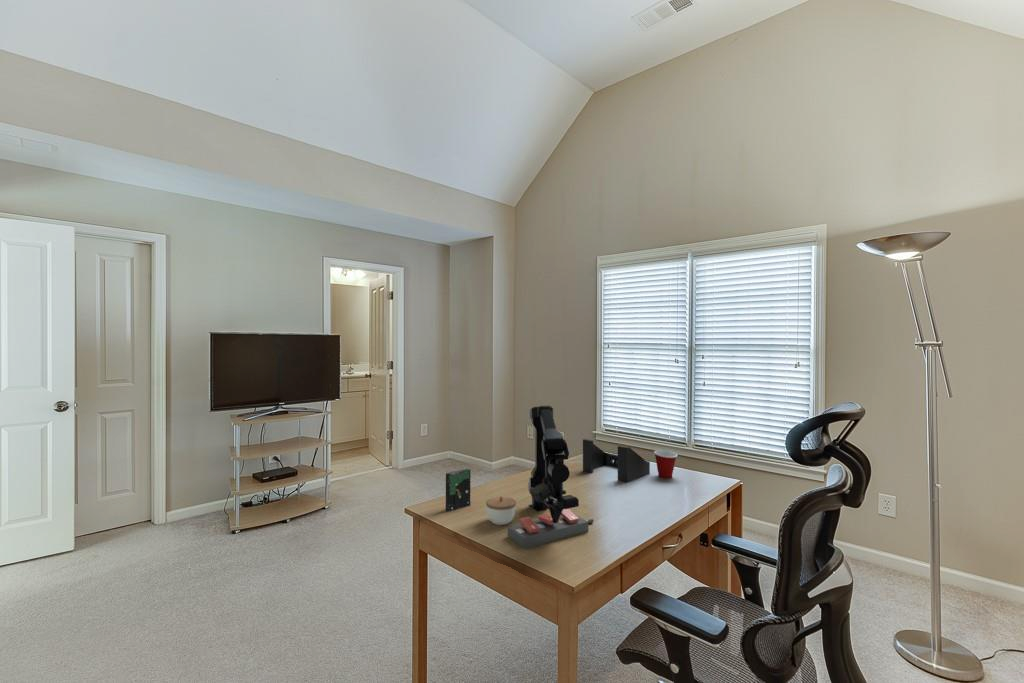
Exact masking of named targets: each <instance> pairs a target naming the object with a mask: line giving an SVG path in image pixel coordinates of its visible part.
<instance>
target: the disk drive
mask: <svg viewBox="0 0 1024 683" xmlns="http://www.w3.org/2000/svg"><path fill="white" fill-rule="evenodd" d="M471 477H472V476H471V469H469V468H463V469H458V470H454V471H450V472H446V473H445V511H446V510H447V511H446V512H448V511H450V512H453V511H456V509H457V510H460V509H462V508H466V506H467V507H470V506H471ZM459 508H460V509H459ZM452 510H453V511H452Z"/></svg>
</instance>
